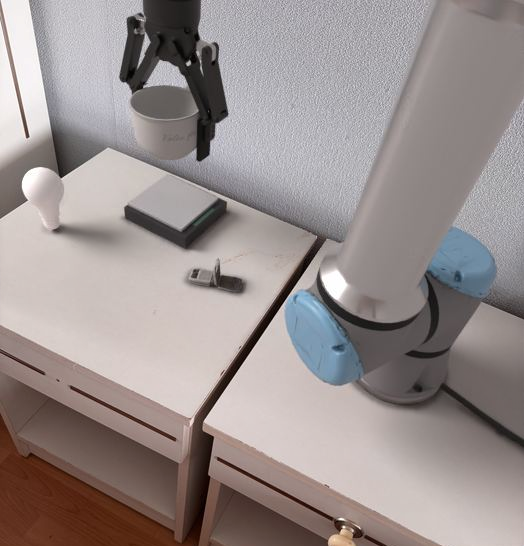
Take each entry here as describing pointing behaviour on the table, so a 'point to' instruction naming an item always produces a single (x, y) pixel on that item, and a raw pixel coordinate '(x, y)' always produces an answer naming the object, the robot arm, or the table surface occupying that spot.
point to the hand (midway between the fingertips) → (173, 144)
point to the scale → (175, 210)
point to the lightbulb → (44, 194)
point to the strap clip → (214, 278)
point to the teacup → (165, 121)
